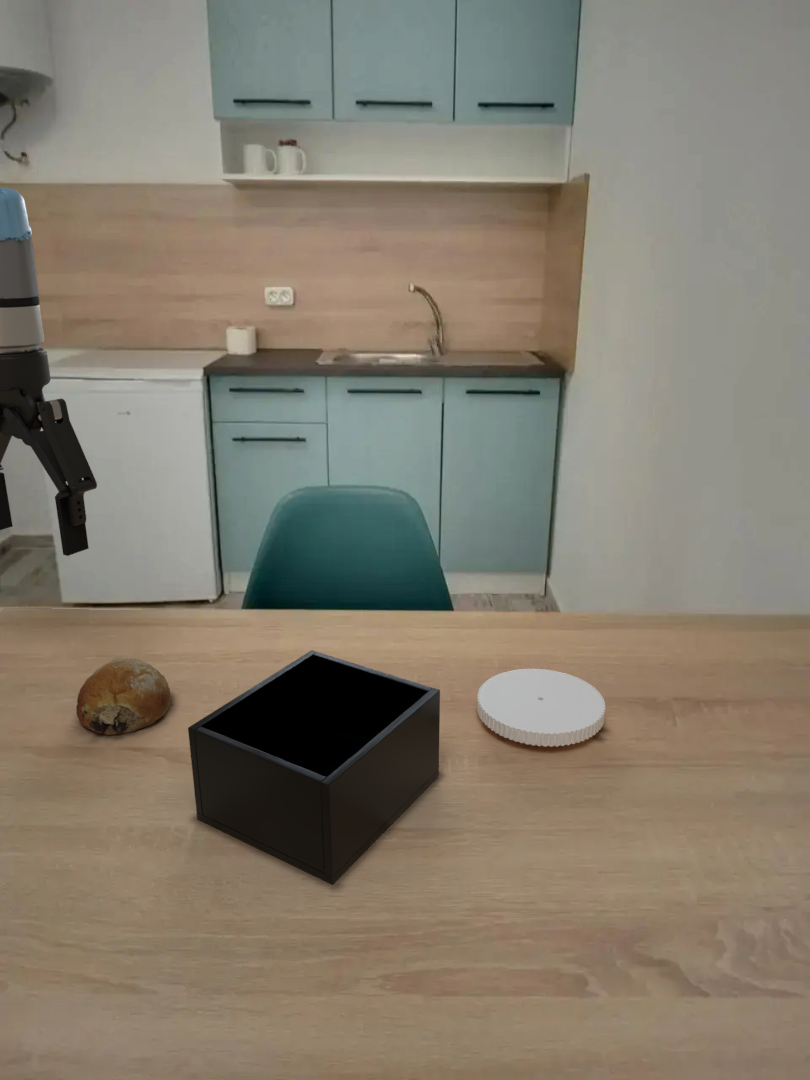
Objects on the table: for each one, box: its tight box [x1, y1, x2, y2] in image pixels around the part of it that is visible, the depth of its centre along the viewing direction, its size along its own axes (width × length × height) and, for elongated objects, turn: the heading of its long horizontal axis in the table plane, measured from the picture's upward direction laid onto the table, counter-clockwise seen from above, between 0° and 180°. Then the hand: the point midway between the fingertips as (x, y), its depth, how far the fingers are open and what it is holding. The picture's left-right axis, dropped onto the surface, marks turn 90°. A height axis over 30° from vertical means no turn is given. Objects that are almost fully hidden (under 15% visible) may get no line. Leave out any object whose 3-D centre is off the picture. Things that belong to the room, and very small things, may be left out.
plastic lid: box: [476, 667, 606, 748], centre depth 92 cm, size 14×14×2 cm
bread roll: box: [76, 657, 171, 736], centre depth 93 cm, size 10×10×8 cm
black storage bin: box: [187, 649, 441, 885], centre depth 78 cm, size 16×18×10 cm
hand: (36, 540), depth 93 cm, fingers open, 13 cm apart
